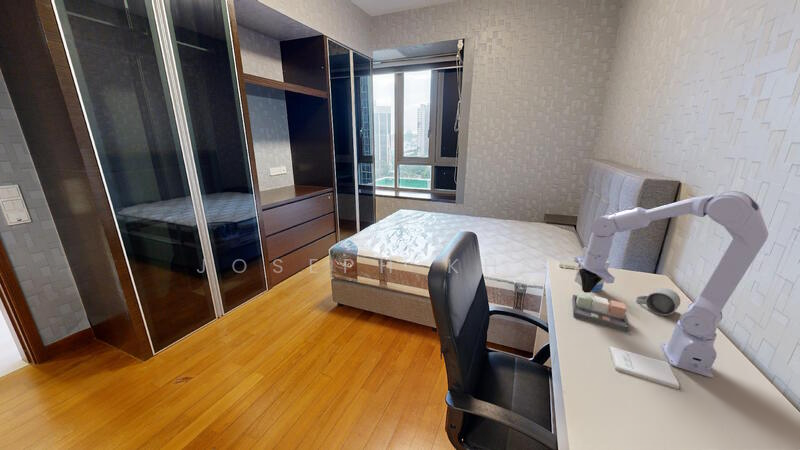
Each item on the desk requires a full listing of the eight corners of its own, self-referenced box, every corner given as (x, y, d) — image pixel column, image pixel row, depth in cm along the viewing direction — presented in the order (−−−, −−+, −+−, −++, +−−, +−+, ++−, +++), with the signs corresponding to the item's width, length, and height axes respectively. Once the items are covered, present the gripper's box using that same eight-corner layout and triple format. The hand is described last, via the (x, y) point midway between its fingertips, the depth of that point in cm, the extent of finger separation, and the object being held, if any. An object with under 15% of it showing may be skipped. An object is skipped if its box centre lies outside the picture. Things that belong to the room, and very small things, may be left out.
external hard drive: (677, 391, 68) (614, 371, 72) (665, 366, 75) (607, 350, 80) (680, 385, 67) (616, 366, 72) (667, 361, 74) (609, 345, 79)
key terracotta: (623, 318, 89) (626, 309, 88) (609, 314, 91) (612, 305, 90) (621, 312, 92) (624, 303, 91) (608, 308, 94) (610, 300, 93)
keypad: (627, 331, 86) (628, 326, 86) (573, 316, 92) (574, 311, 92) (620, 311, 96) (622, 306, 96) (572, 298, 102) (573, 293, 102)
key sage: (589, 309, 93) (592, 300, 92) (576, 305, 95) (579, 297, 94) (588, 303, 96) (591, 295, 95) (576, 300, 98) (578, 292, 97)
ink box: (602, 290, 108) (613, 254, 104) (591, 291, 107) (602, 255, 103) (584, 279, 116) (593, 245, 111) (573, 280, 115) (582, 246, 110)
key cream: (606, 313, 91) (608, 304, 90) (592, 309, 93) (595, 301, 92) (604, 307, 94) (607, 299, 93) (591, 304, 96) (594, 295, 95)
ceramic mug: (677, 311, 97) (685, 291, 95) (671, 320, 93) (679, 299, 90) (639, 297, 105) (645, 278, 103) (631, 304, 101) (637, 285, 98)
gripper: (628, 263, 83) (615, 304, 88) (592, 244, 97) (582, 279, 101) (606, 264, 83) (594, 304, 87) (572, 244, 96) (563, 280, 101)
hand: (586, 291), depth 94 cm, fingers closed
